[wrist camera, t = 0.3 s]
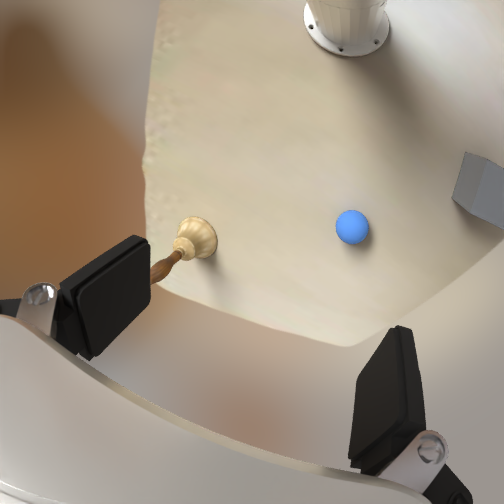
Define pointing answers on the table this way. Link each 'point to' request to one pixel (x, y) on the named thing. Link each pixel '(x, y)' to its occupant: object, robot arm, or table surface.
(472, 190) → the grey cube
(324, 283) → the table surface
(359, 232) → the ball
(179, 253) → the hand bell
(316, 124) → the table surface
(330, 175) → the table surface
